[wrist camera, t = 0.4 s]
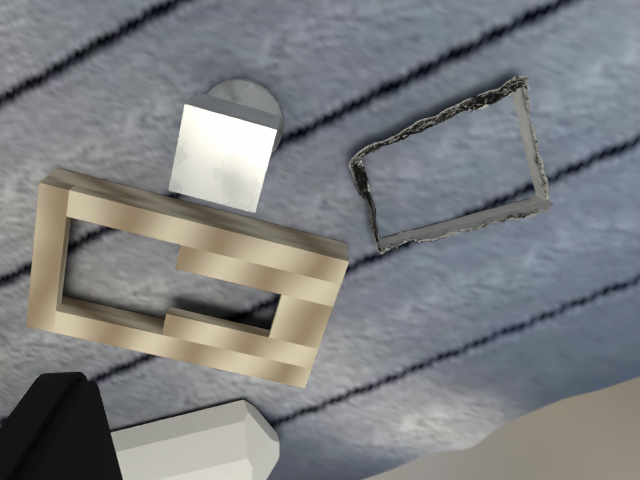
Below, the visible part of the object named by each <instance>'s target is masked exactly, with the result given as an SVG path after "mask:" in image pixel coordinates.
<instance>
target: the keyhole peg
mask: <svg viewBox="0 0 640 480" xmlns="http://www.w3.org/2000/svg"><path fill="white" fill-rule="evenodd" d="M283 127H284V119H283V113H282V109H281V106H280V104H279V102H278V100H277V99H276V97H275V96H274V95H273V93H272V92H271V91H270V90H269V89H267V88H266V87H265V86H263V85H262V84H260V83H258V82H256V81H253V80H250V79H246V78H232V79H228V80H225V81H222V82H220V83H218V84H217V85H215V86H214V87H212V88H211V89H210V90H209V91H208V92H207V93H206V94H203V93H199V92H197V93H196V94H195V95H194V96H193V97H192V98H191V99H190V100H189V101H188V102H186V103H185V106H184V111H183V116H182V122H181V127H180V132H179V137H178V143H177V148H176V153H175V159H174V164H173V169H172V174H171V180H170V185H169V191H173V192H177V193H180V194H184V195H188V196H192V197H196V198H200V199H203V200H207V201H211V202H215V203H219V204H222V205H226V206H230V207H234V208H238V209H242V210H245V211H249V212H253V213H255V212H256V208H257V204H258V200H259V196H260V193H261V189H262V185H263V181H264V177H265V174H266V170H267V166H268V162H269V158H270V156H271V155H272V153H273V152H274V151H275V150H276V148H277V147H278V145H279V143H280V140H281V137H282V133H283Z"/></svg>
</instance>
